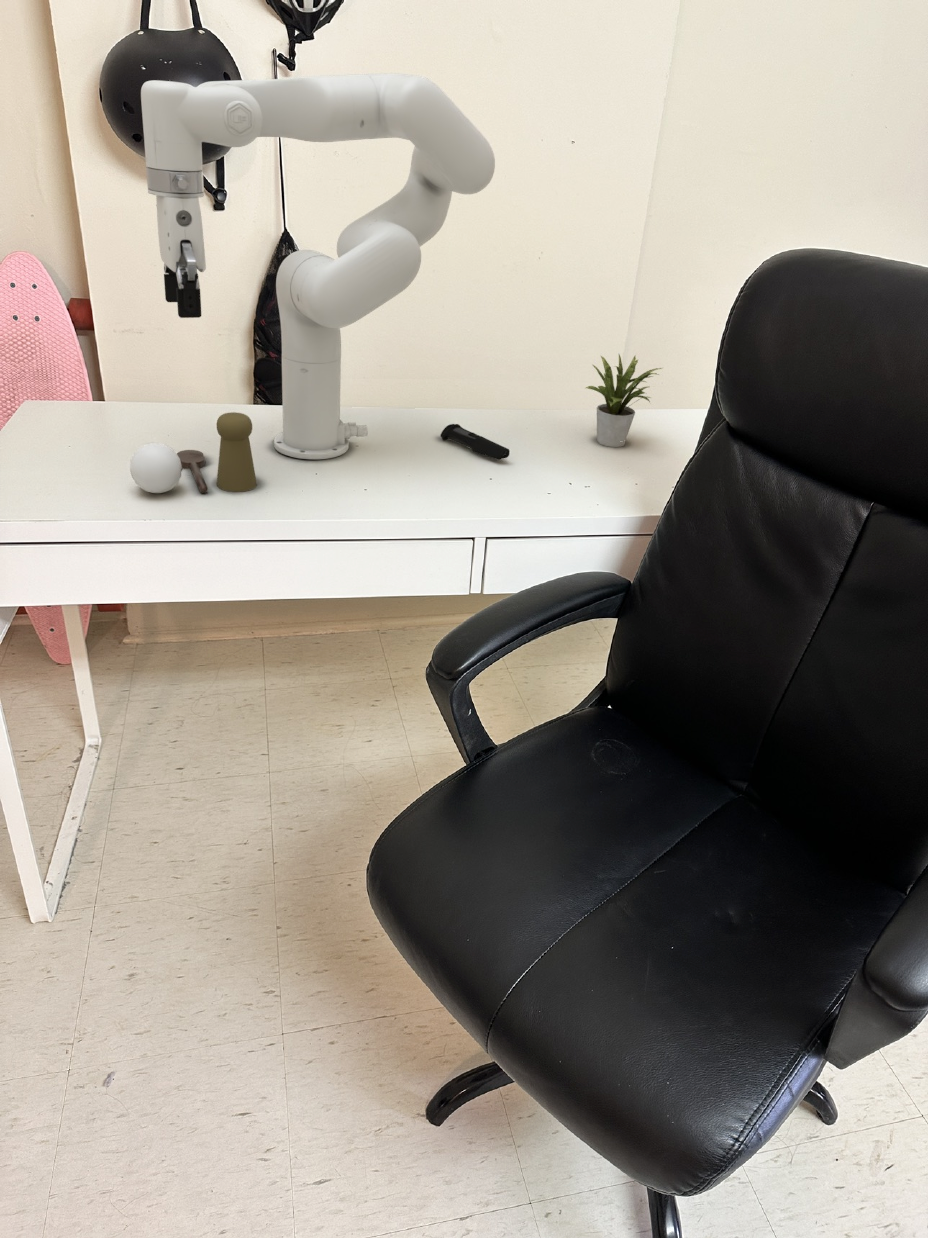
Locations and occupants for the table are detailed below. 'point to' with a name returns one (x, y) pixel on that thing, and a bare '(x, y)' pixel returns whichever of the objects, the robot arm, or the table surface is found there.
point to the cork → (235, 453)
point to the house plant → (617, 403)
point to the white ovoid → (155, 468)
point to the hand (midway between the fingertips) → (183, 309)
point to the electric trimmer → (474, 442)
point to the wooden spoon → (194, 466)
